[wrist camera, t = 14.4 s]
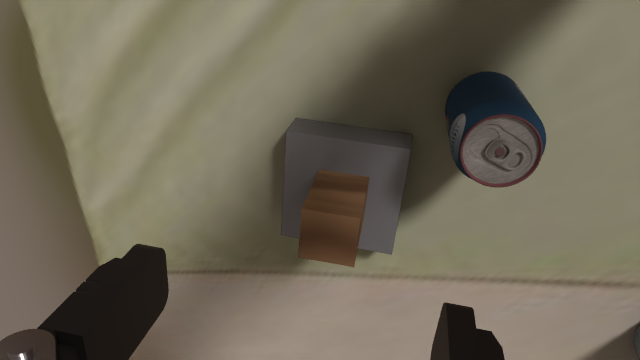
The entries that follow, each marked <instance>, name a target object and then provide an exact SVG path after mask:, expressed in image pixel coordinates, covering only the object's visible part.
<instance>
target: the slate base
mask: <svg viewBox="0 0 640 360" xmlns="http://www.w3.org/2000/svg"><path fill="white" fill-rule="evenodd" d="M411 143H412V135H411V134H404V133H397V132H390V131H383V130H376V129H369V128H363V127H356V126H349V125H342V124H335V123H328V122H321V121H314V120H307V119H300V118H296V119H295V120H294V121H293V123H292V124H291V126H290V127H289V128H288V130H287V132H286V150H285V169H284V187H283V205H282V224H281V235H285V236H290V237H296V238H300V225H301V210H302V207H303V205H304V202H305V200H306V198H307V196H308V194H309V191H310V189H311V187H312V185H313V182H314V180H315V178H316V176H317V174H318V171H319V170H326V171H332V172H339V173H346V174H352V175H359V176H366V177H369V184H368V192H367V199H366V206H365V214H364V221H363V226H362V230H361V235H360V240H359V245H358V249H363V250H369V251H375V252H380V253H386V254H392V251H393V245H394V240H395V235H396V229H397V224H398V218H399V213H400V208H401V202H402V197H403V191H404V186H405V180H406V175H407V170H408V164H409V159H410V153H411Z"/></svg>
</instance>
